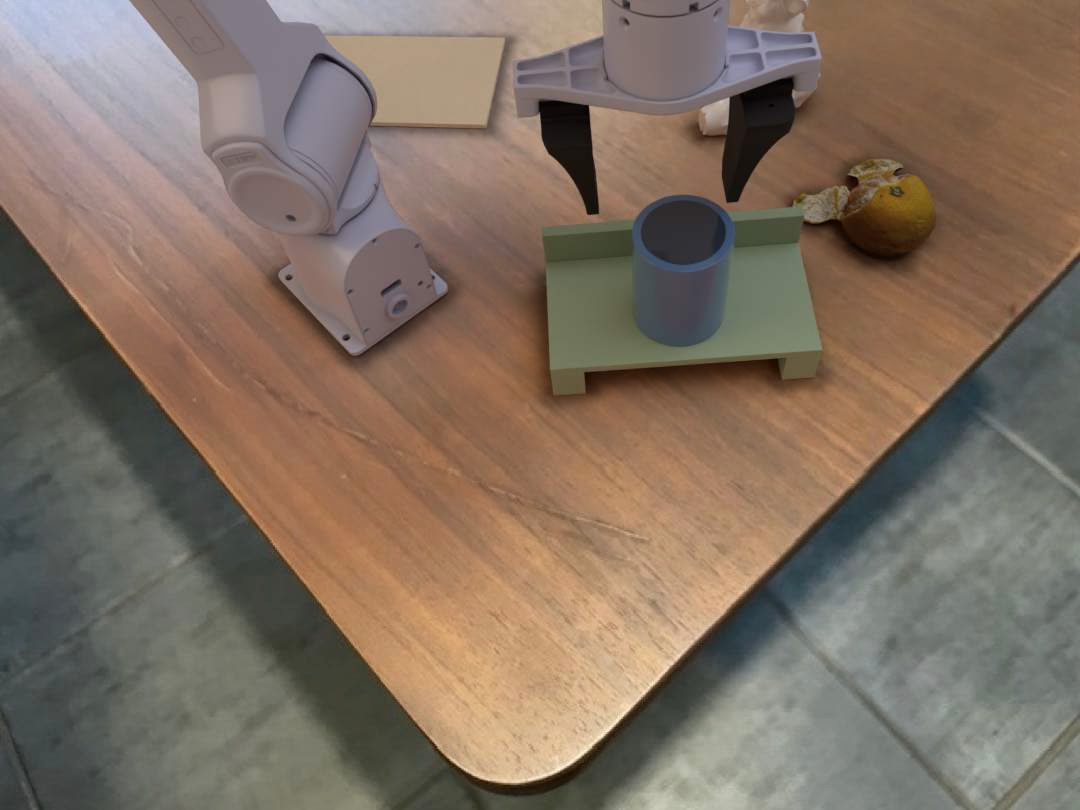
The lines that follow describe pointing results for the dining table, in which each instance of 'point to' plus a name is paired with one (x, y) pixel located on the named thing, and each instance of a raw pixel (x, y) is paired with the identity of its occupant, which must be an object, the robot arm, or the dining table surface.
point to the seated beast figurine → (770, 9)
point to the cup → (681, 269)
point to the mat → (427, 77)
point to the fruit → (877, 209)
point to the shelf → (617, 343)
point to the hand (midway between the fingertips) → (660, 195)
